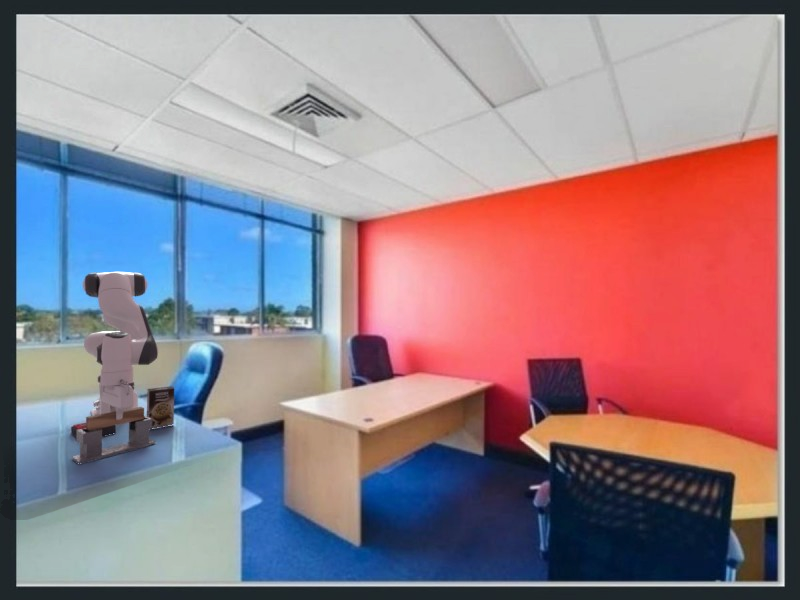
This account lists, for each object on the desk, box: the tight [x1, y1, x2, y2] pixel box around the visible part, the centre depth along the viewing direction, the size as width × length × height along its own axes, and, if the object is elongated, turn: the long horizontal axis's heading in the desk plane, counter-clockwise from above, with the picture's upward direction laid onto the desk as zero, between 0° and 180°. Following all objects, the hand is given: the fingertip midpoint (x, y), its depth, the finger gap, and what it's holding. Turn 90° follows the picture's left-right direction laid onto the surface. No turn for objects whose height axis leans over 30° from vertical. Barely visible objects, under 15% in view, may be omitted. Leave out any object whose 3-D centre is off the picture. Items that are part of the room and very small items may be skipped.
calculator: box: [70, 422, 117, 438], centre depth 149 cm, size 11×4×15 cm
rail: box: [85, 406, 145, 431], centre depth 131 cm, size 3×16×4 cm, turn 145°
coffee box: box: [146, 386, 175, 429], centre depth 158 cm, size 9×6×16 cm
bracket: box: [71, 415, 156, 465], centre depth 131 cm, size 7×22×10 cm, turn 145°
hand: (116, 418), depth 131 cm, fingers closed on rail, 3 cm apart
